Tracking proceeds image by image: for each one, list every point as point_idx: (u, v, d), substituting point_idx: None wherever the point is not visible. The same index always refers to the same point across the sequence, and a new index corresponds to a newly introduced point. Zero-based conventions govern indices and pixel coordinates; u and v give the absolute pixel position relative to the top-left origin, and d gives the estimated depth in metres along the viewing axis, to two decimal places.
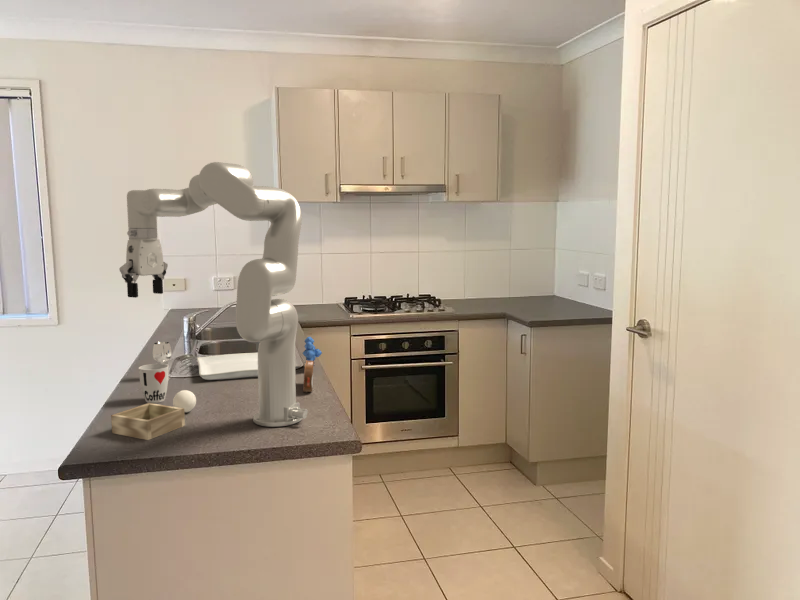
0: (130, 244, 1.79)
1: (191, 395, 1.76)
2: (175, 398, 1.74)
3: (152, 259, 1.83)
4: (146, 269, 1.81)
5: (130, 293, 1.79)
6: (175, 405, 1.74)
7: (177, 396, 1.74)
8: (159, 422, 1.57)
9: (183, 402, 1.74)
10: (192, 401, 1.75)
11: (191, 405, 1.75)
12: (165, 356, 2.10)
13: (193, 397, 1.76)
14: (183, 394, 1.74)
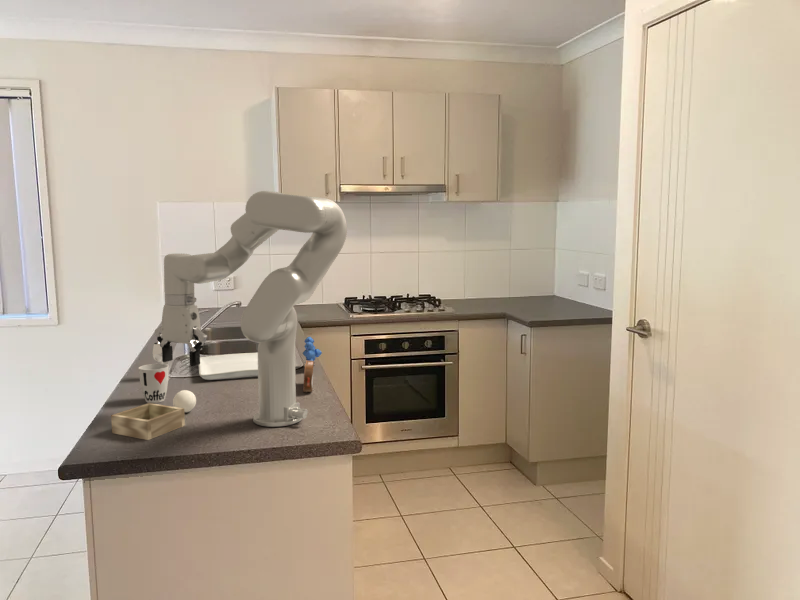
0: (193, 311, 1.72)
1: (191, 395, 1.76)
2: (175, 398, 1.74)
3: None
4: None
5: (198, 361, 1.73)
6: (175, 405, 1.74)
7: (177, 396, 1.74)
8: (159, 422, 1.57)
9: (183, 402, 1.74)
10: (192, 401, 1.75)
11: (191, 405, 1.75)
12: None
13: (193, 397, 1.76)
14: (183, 394, 1.74)
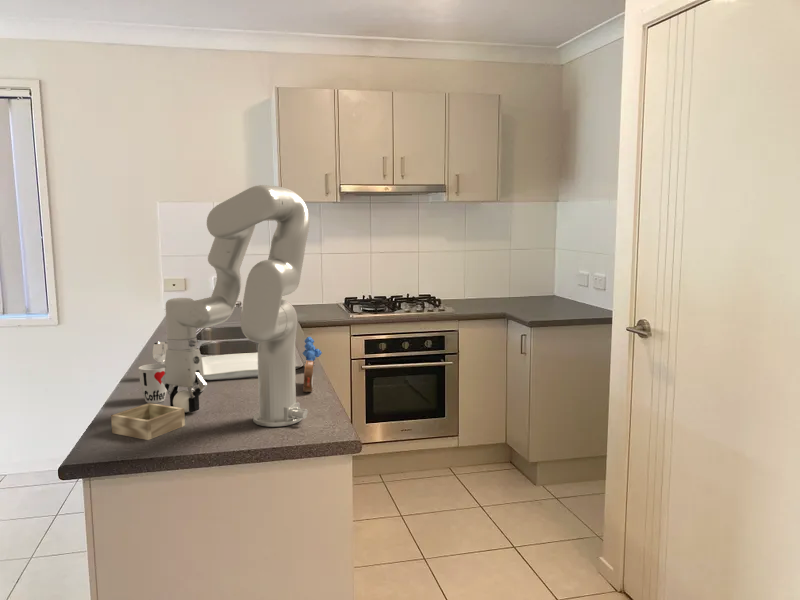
0: (195, 355, 1.73)
1: None
2: (175, 398, 1.74)
3: None
4: None
5: (197, 407, 1.75)
6: (175, 405, 1.74)
7: (177, 396, 1.74)
8: (159, 422, 1.57)
9: (183, 402, 1.74)
10: None
11: None
12: None
13: None
14: (183, 394, 1.74)
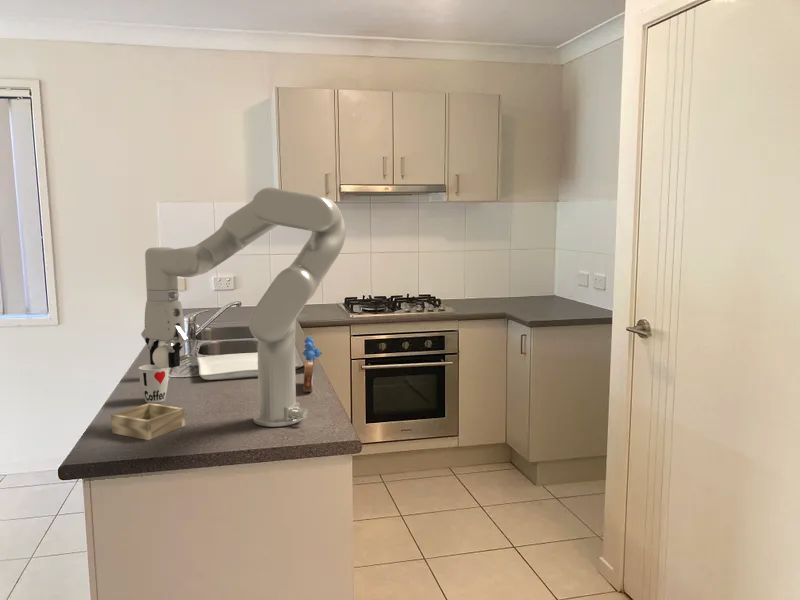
0: (175, 307, 1.64)
1: None
2: (154, 353, 1.66)
3: None
4: None
5: (177, 362, 1.66)
6: (154, 360, 1.66)
7: (157, 351, 1.66)
8: (159, 422, 1.57)
9: (162, 356, 1.65)
10: None
11: None
12: None
13: None
14: (162, 349, 1.66)
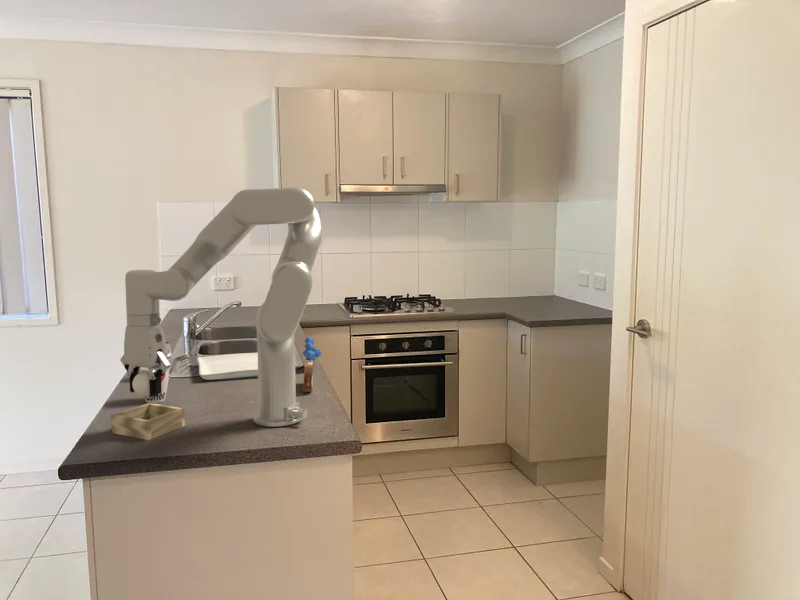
0: (157, 332, 1.57)
1: None
2: (135, 380, 1.59)
3: None
4: None
5: (159, 390, 1.59)
6: (134, 388, 1.58)
7: (137, 378, 1.59)
8: (159, 422, 1.57)
9: (143, 384, 1.58)
10: None
11: None
12: None
13: None
14: (143, 376, 1.59)
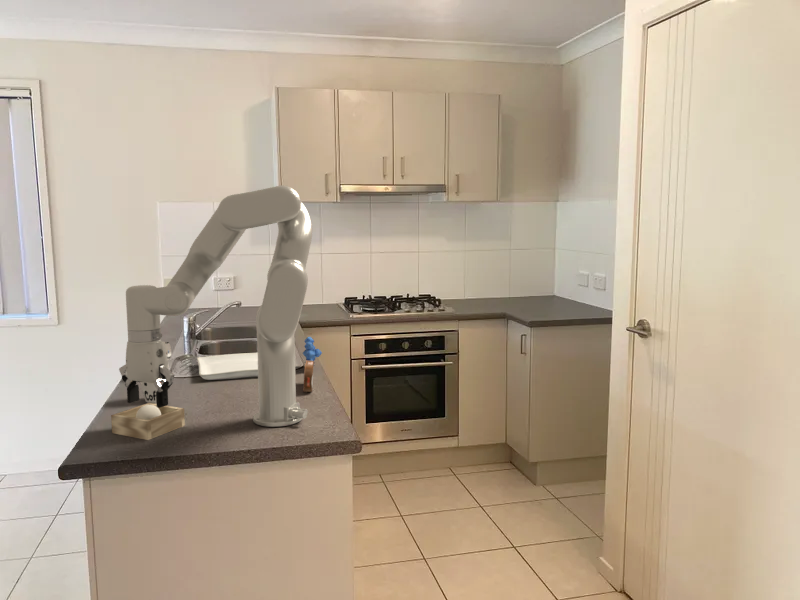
0: (158, 347, 1.58)
1: (156, 410, 1.61)
2: (138, 413, 1.60)
3: None
4: None
5: (165, 402, 1.59)
6: None
7: (140, 411, 1.60)
8: (159, 422, 1.57)
9: (146, 417, 1.59)
10: None
11: None
12: None
13: (158, 412, 1.61)
14: (146, 409, 1.60)
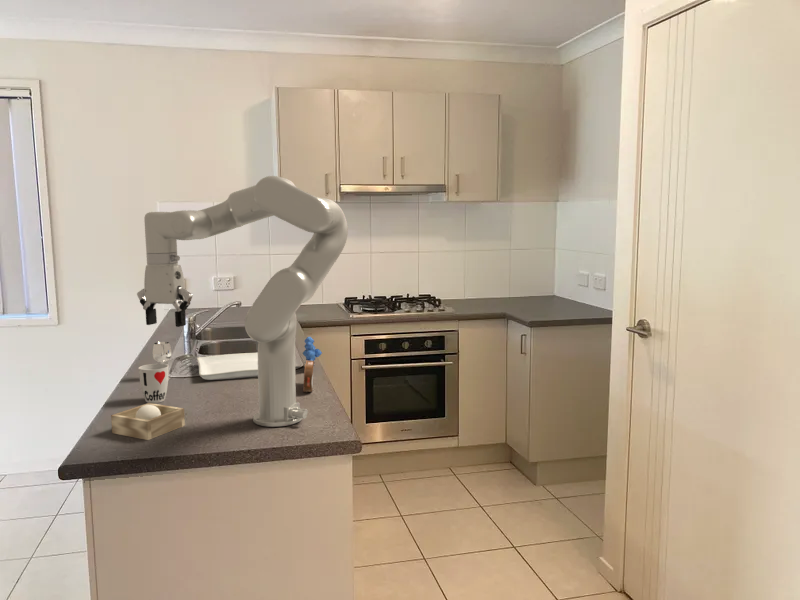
0: (176, 270, 1.67)
1: (155, 410, 1.61)
2: (137, 414, 1.60)
3: None
4: None
5: (184, 321, 1.69)
6: None
7: (139, 411, 1.60)
8: (159, 422, 1.57)
9: (146, 417, 1.59)
10: (156, 416, 1.61)
11: None
12: (165, 356, 2.10)
13: (157, 412, 1.61)
14: (146, 409, 1.60)
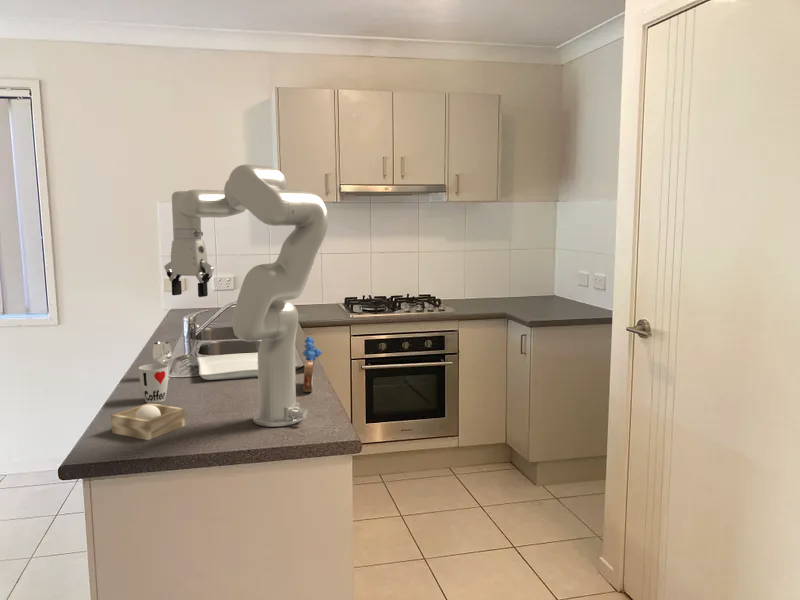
0: (200, 244, 1.82)
1: (155, 410, 1.61)
2: (137, 414, 1.60)
3: None
4: None
5: (205, 292, 1.84)
6: None
7: (139, 411, 1.60)
8: (159, 422, 1.57)
9: (145, 417, 1.59)
10: (156, 416, 1.61)
11: None
12: (165, 356, 2.10)
13: (157, 412, 1.61)
14: (145, 409, 1.60)
